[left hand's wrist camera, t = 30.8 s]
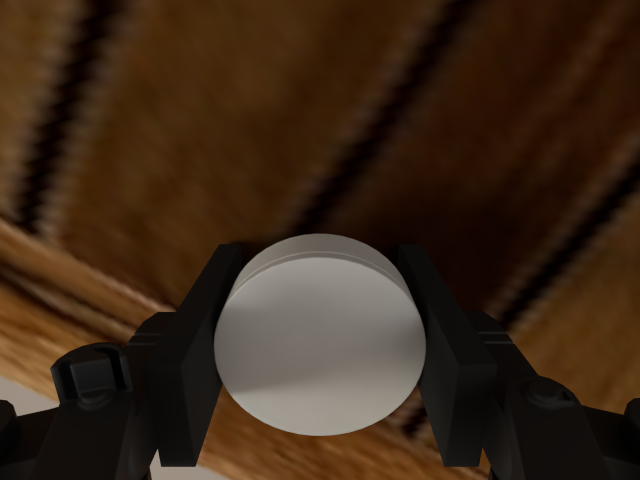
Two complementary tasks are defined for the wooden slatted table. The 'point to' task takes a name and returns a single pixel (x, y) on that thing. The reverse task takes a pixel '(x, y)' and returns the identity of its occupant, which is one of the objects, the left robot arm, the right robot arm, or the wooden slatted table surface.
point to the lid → (319, 336)
